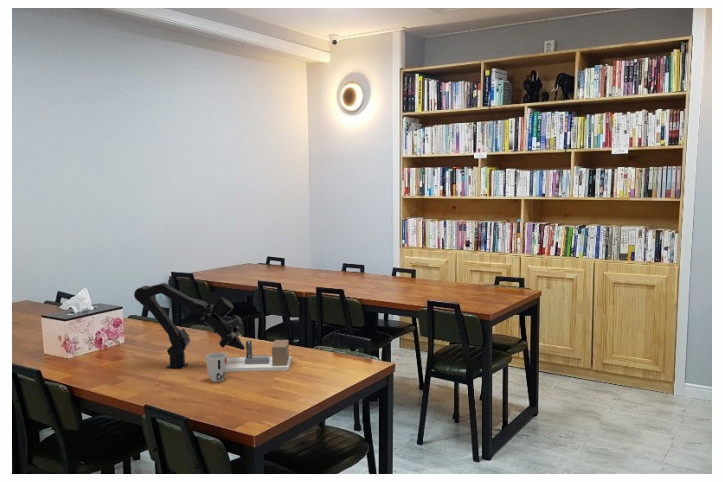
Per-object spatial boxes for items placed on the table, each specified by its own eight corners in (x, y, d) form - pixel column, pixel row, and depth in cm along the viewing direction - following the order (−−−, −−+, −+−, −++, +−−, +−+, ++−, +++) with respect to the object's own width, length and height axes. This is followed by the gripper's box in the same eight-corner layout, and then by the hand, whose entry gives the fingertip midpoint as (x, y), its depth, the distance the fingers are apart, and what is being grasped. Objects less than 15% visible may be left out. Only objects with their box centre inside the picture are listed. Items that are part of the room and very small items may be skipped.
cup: (217, 384, 238) (217, 359, 237) (202, 381, 242) (201, 356, 241) (231, 378, 245) (231, 354, 244) (216, 375, 249) (215, 351, 248)
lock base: (216, 371, 254) (216, 349, 253) (223, 360, 270) (223, 339, 269) (288, 370, 255) (288, 348, 254) (291, 359, 271) (291, 338, 270)
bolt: (245, 362, 261) (244, 342, 260) (246, 360, 264) (245, 340, 263) (268, 362, 261) (268, 341, 260) (269, 360, 264) (269, 340, 263)
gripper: (226, 315, 251) (254, 341, 252) (233, 306, 269) (259, 330, 271) (207, 335, 251) (235, 360, 253) (216, 324, 270) (242, 348, 271)
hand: (244, 349), depth 262 cm, fingers closed
